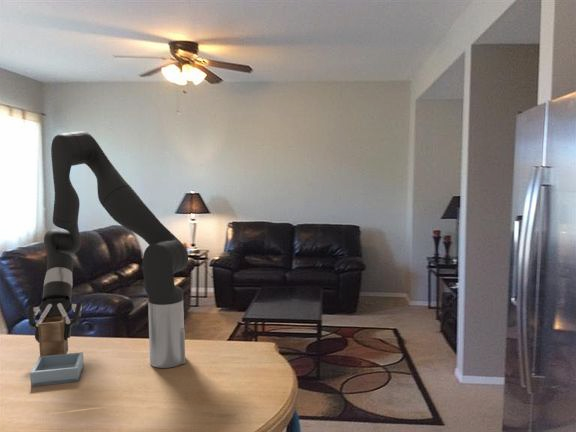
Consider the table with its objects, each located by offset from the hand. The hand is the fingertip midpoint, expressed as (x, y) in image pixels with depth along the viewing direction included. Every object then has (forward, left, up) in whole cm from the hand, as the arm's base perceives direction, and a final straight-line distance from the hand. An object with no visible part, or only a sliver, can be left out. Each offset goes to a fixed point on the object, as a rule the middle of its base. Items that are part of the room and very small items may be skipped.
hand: (52, 340), depth 133 cm
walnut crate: (0, -2, -5) cm, 5 cm away
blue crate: (-3, +9, -6) cm, 12 cm away
